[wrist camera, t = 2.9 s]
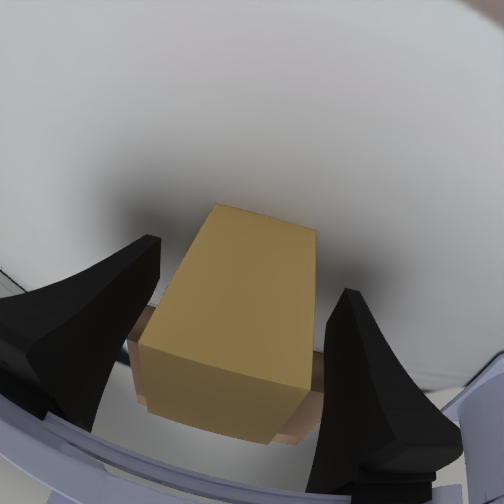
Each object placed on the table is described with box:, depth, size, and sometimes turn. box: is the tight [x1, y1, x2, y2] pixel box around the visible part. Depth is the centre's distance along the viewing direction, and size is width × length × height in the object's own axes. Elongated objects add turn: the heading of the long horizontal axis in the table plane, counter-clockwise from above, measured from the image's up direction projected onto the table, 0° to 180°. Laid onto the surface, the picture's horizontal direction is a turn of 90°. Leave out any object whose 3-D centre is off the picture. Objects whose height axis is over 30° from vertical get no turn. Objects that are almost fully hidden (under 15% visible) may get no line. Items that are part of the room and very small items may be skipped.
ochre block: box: [138, 203, 316, 445], centre depth 11 cm, size 4×4×7 cm
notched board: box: [127, 306, 324, 445], centre depth 18 cm, size 11×8×2 cm
